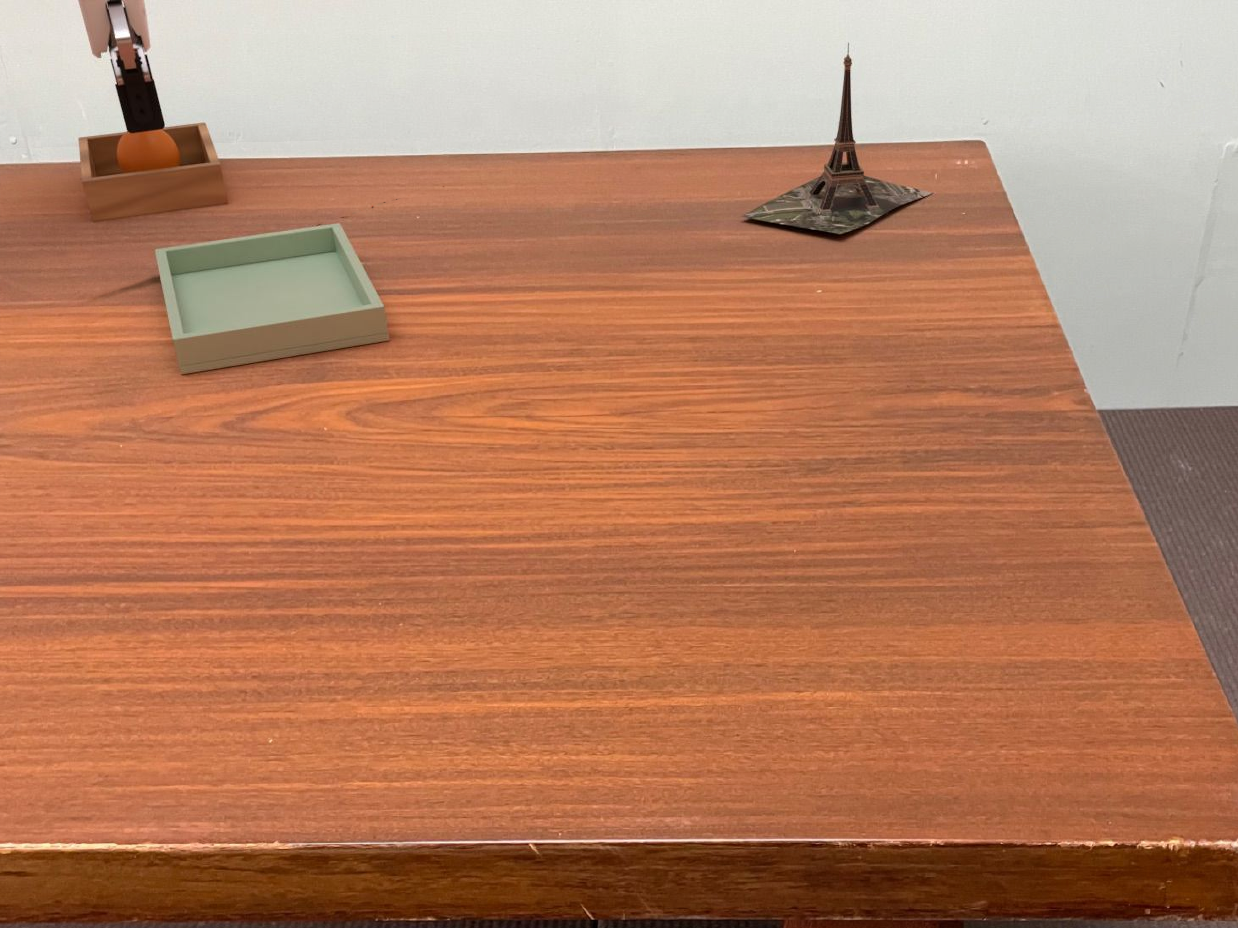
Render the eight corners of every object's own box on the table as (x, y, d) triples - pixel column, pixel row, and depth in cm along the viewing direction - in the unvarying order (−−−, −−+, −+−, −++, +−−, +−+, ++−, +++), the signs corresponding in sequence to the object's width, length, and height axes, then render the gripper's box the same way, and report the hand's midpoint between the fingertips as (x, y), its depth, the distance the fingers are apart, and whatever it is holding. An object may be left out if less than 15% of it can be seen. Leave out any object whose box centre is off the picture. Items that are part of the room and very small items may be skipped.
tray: (389, 340, 105) (384, 306, 103) (181, 374, 101) (172, 339, 100) (345, 253, 120) (339, 222, 119) (162, 280, 116) (154, 248, 115)
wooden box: (230, 210, 130) (220, 163, 128) (94, 228, 127) (82, 181, 125) (214, 165, 142) (205, 122, 139) (89, 181, 139) (78, 137, 136)
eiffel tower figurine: (834, 174, 133) (840, 16, 125) (933, 192, 128) (945, 30, 120) (740, 221, 124) (740, 53, 116) (843, 243, 118) (849, 69, 111)
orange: (146, 202, 131) (130, 138, 128) (114, 190, 134) (98, 128, 131) (197, 187, 134) (184, 124, 131) (166, 176, 137) (151, 114, 134)
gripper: (41, -107, 126) (96, 98, 136) (42, -78, 113) (103, 148, 123) (130, -116, 128) (179, 88, 138) (142, -88, 115) (194, 135, 125)
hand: (143, 116), depth 130 cm, fingers open, 9 cm apart
